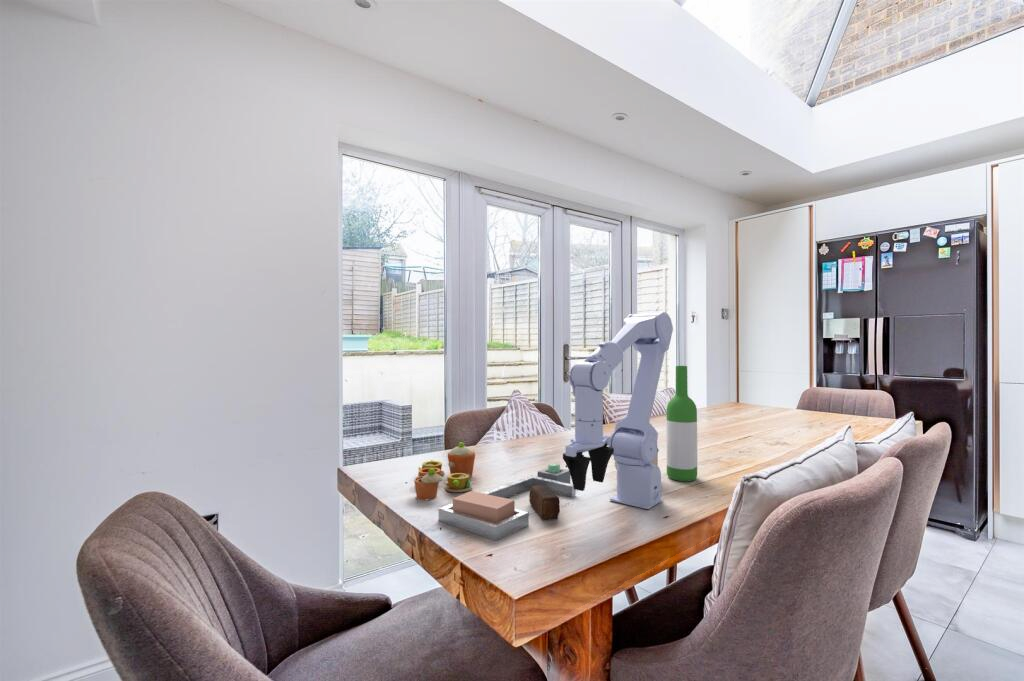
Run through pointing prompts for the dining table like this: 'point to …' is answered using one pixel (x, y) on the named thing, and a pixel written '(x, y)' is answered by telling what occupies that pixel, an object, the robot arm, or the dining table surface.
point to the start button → (554, 468)
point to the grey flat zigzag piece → (509, 524)
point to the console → (555, 475)
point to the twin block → (484, 506)
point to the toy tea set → (431, 473)
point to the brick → (544, 502)
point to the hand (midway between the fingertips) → (588, 485)
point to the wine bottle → (681, 432)
